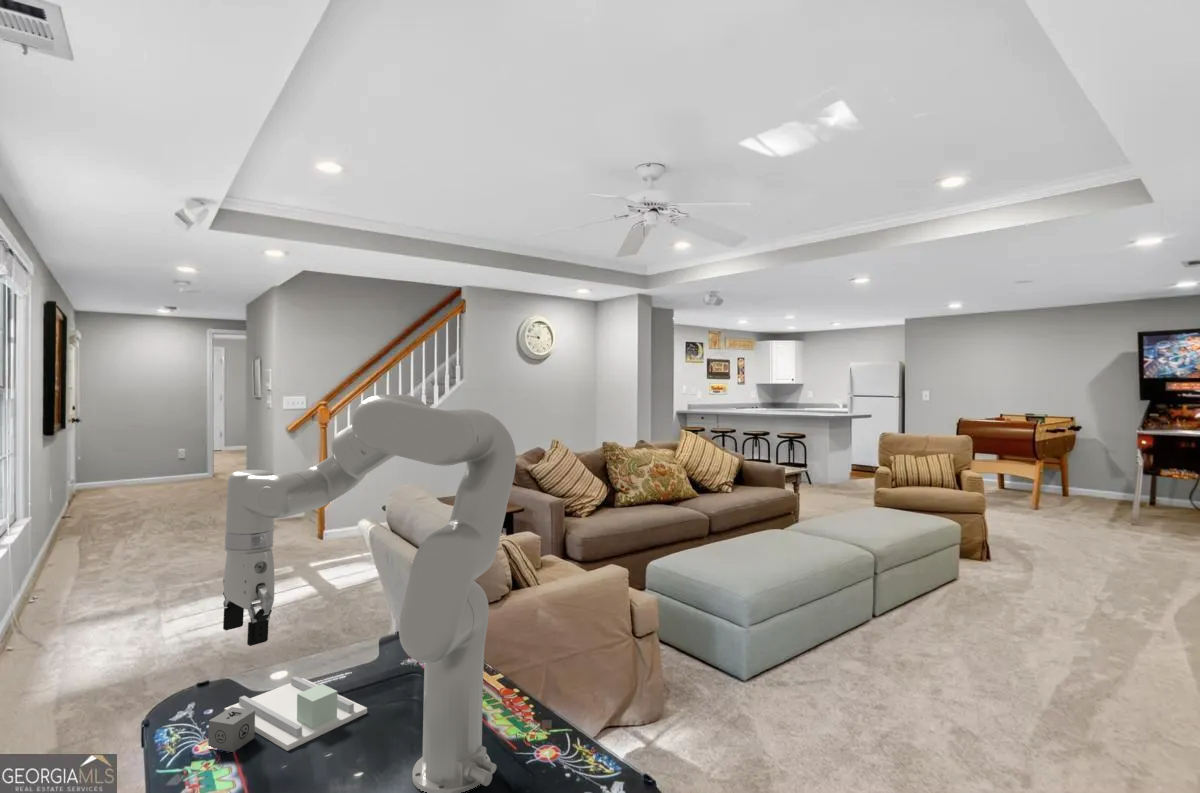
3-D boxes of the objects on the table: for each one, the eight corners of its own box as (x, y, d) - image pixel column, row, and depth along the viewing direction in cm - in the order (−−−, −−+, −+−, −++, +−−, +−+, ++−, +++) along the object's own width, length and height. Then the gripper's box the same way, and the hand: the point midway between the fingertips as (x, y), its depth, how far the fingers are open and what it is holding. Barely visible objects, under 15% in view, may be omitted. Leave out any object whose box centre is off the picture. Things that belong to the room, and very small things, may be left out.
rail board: (366, 713, 122) (367, 682, 122) (287, 751, 108) (287, 716, 108) (302, 682, 134) (303, 654, 134) (224, 713, 120) (224, 682, 120)
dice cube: (254, 738, 112) (255, 710, 112) (232, 753, 107) (233, 724, 107) (231, 734, 113) (231, 706, 113) (208, 749, 108) (208, 720, 108)
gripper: (294, 545, 109) (289, 643, 109) (249, 528, 119) (245, 617, 119) (249, 553, 103) (244, 656, 103) (206, 534, 113) (202, 628, 113)
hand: (245, 635), depth 111 cm, fingers open, 9 cm apart
